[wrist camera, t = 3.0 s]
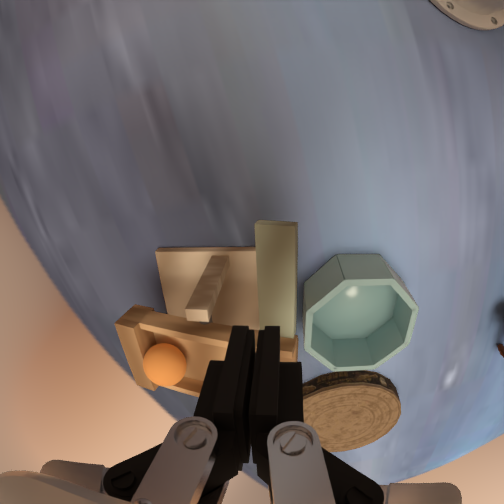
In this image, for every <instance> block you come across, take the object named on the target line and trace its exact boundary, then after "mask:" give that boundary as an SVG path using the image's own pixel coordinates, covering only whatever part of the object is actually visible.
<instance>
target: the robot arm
mask: <svg viewBox="0 0 504 504" xmlns="http://www.w3.org/2000/svg"><path fill="white" fill-rule="evenodd" d="M430 1H431V2H432V3H433V4H434V5H435V6H436V7H437V8H439V9H440V10H441V11H442V12H443V13H445V14H446V15H448V16H449V17H450V18H452V19H453V20H455V21H457V22H459V23H460V24H462V25H465V26H467V27H470V28H473V29H477V30H492V29H496V28H498V27H501V26H502V25H503V24H504V0H430ZM251 446H252V456H253V463H254V464H257V475H258V476H259V477H260V478H261V479H262V480H263V481H264V482H265V483H267V484H268V488H269V497H270V504H462V497H461V493H460V490H459V489H458V488H457V487H456V486H455V485H453V484H451V483H390V484H389V485H378V484H377V483H376V482H375V481H373V480H371V479H370V478H368V477H367V476H365V475H363V474H362V473H360V472H359V471H357V470H355V469H354V468H352V467H351V466H349V465H348V464H346V463H345V462H343V461H342V460H340V459H339V458H337V457H336V456H334V455H333V454H331V453H330V452H328V451H327V450H326V449H324V448H323V447H321V444H320V440H319V436H318V434H317V432H316V431H315V430H314V429H313V428H312V427H311V426H310V425H308V424H306V423H304V412H303V385H302V364H301V362H280V326H265V329H264V330H259V332H258V340H257V348H255V331H254V330H249V326H243V325H233V326H232V330H231V334H230V338H229V343H228V347H227V351H226V355H225V359H224V361H221V360H210V362H209V364H208V368H207V371H206V375H205V378H204V381H203V385H202V388H201V392H200V395H199V399H198V402H197V406H196V409H195V412H194V416H193V417H186V418H183V419H181V420H179V421H178V422H176V423H175V424H174V425H173V426H172V427H171V429H170V430H169V432H168V434H167V436H166V438H165V440H164V442H163V443H161V444H159V445H157V446H155V447H153V448H151V449H149V450H147V451H145V452H143V453H141V454H138V455H136V456H134V457H132V458H130V459H127V460H125V461H123V462H121V463H118V464H116V465H114V466H113V467H111V468H105V466H104V465H96V464H86V463H77V462H69V461H63V460H51V461H49V462H47V463H46V464H45V465H43V467H42V469H41V471H40V473H38V472H32V471H8V472H4V473H2V474H0V504H222V501H223V498H224V495H225V493H226V490H227V487H228V484H229V480H230V479H231V478H233V477H234V476H236V475H238V471H242V466H243V463H249V457H250V449H251Z"/></svg>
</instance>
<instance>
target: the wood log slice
mask: <svg viewBox="0 0 504 504" xmlns="http://www.w3.org/2000/svg"><path fill="white" fill-rule="evenodd" d="M302 385H303V412H304V423H306V424H308V425H310V426H311V427H312V428H313V429H314V430H315V431H316V432H317V434H318V436H319V440H320V444H321V447H323V448H324V449H326V450H327V451H328V452H340V451H347V450H351V449H356V448H360V447H362V446H365V445H367V444H370V443H372V442H374V441H376V440H378V439H379V438H381V437H382V436H384V435H385V434H387V433H388V432H389V431H390V430H391V429H392V428H393V427H394V426H395V424H396V423H397V421H398V419H399V417H400V414H401V404H400V400H399V396H398V393H397V390H396V387H395V386H394V385H393V383H392V382H391V381H390V379H388V378H386V377H385V376H383V375H381V374H379V373H377V372H372V371H366V370H356V371H336V372H332V373H328V374H324V375H320V376H318V377H316V378H314V379H312V380H310V381H308V382H306V383H303V384H302Z"/></svg>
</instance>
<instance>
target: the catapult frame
mask: <svg viewBox="0 0 504 504" xmlns="http://www.w3.org/2000/svg"><path fill="white" fill-rule="evenodd" d="M155 253H156V259H157V264H158V269H159V275H160V280H161V285H162V290H163V295H164V299H165V304H166V309H167V313H168V314H169V315H174V316H179V317H184V318H187V321H202V322H209V320H210V317H211V315H212V322H213V323H217V324H223V325H229V326H233V325H243V326H249V329H255V330H260V327H259V306H258V285H257V265H256V247H192V248H158V249H157V250H156V252H155Z"/></svg>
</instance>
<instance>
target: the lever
mask: <svg viewBox="0 0 504 504" xmlns="http://www.w3.org/2000/svg"><path fill="white" fill-rule="evenodd" d="M255 245H256V265H257V285H258V306H259V327H260V330H264V329H265V326H280V362H297V357H298V338H297V337H298V335H295V333H296V311H297V255H298V222H286V221H268V220H258V221H257V222H256V223H255ZM115 326H116V329H117V332H118V335H119V338H120V341H121V344H122V347H123V349H124V352H125V355H126V358H127V360H128V363H129V366H130V368H131V371H132V373H133V376H134V379H135V381H136V383H137V385H139V386H141V387H144V388H147V389H150V390H153V391H155V390H156V388H157V387H158V386H159V385H157V384H155V383H153V382H152V381H151V380H149V378H148V377H147V376H146V374H145V372H144V369H143V359H144V356H145V354H146V352H147V351H148V350H149V349H150V348H151V347H152V346H154V345H156V344H160V343H167V344H171V345H174V346H175V347H177V348H178V349H179V350H180V351H181V352H182V353H183V355H184V357H185V359H186V364H187V368H186V373H185V375H184V377H183V378H182V379H181V380H180V381H179V382H178V383H177V384H175V385H172V386H163V387H166V388H169V389H172V390H176V391H179V392H183V393H186V394H190V395H193V396H197V397H199V395H200V392H201V388H202V385H203V381H204V378H205V375H206V371H207V368H208V364H209V362H210V360H221V361H224V359H225V355H226V351H227V347H228V343H229V338H230V334H231V330H232V326H229V325H223V324H217V323H213V322H212V315H211V317H210V320H209V322H202V321H187V318H184V317H179V316H174V315H169V314H164V313H159V312H155V311H154V308H150V307H145V306H140V305H136V304H135V305H134V306H133V307H132V308H130V309H129V310H128V311H127V312H126V313H125V314H124V315H123V316H122V317H121V318H120V319H119V320H117V321H116V322H115ZM249 330H254V331H255V348H257V340H258V332H259V330H255V329H249Z"/></svg>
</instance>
